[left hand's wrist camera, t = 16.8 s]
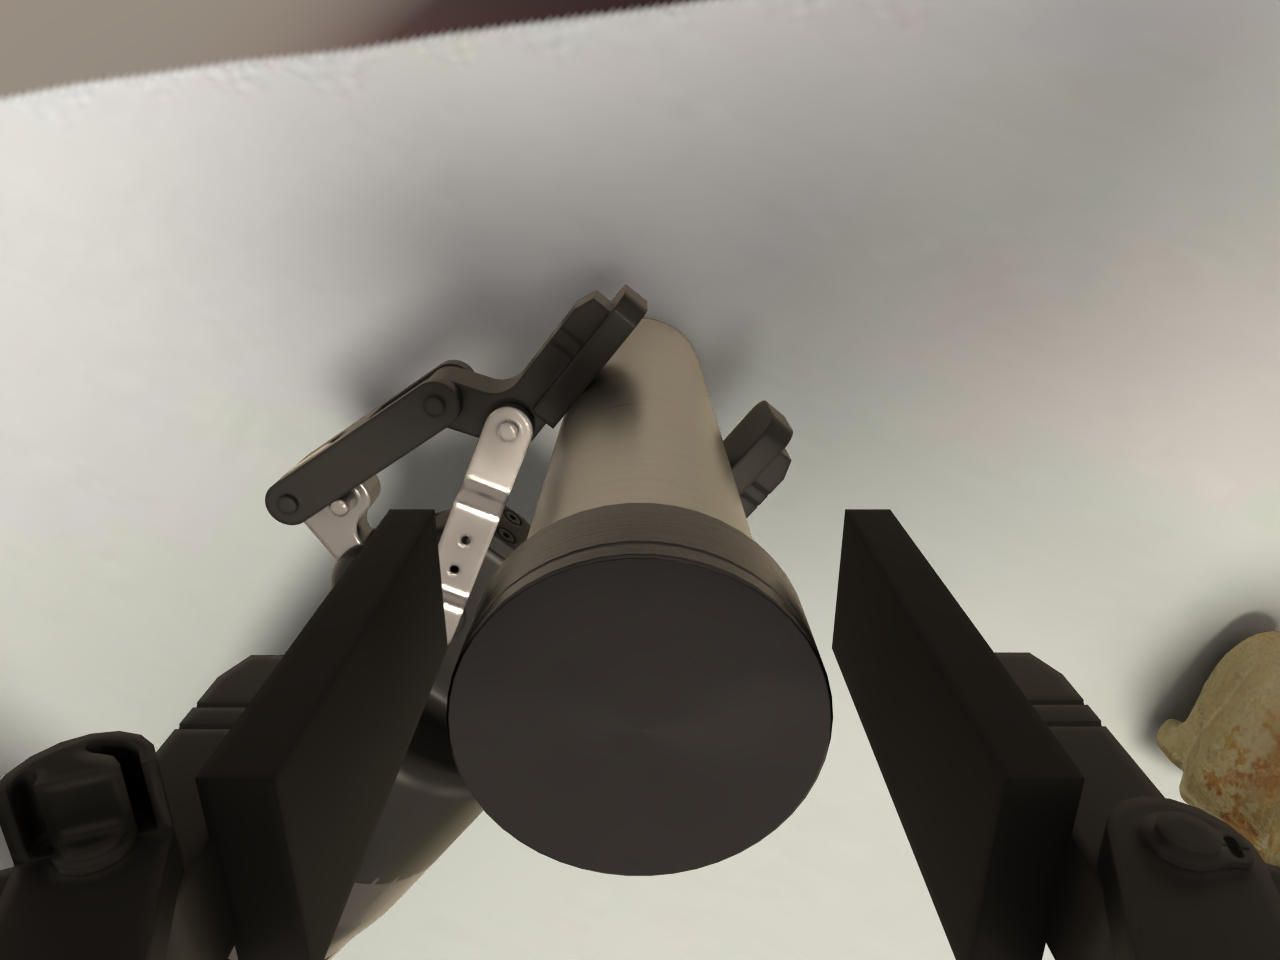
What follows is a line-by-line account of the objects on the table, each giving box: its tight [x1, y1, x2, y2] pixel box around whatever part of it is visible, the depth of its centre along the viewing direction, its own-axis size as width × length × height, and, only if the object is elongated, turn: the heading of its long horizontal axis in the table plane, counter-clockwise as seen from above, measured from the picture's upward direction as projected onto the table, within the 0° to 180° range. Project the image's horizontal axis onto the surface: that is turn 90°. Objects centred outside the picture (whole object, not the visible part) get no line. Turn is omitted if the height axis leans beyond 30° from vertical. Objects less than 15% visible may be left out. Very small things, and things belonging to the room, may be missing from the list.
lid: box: [446, 503, 833, 876], centre depth 11 cm, size 5×5×2 cm
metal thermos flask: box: [527, 318, 753, 540], centre depth 20 cm, size 4×4×18 cm
